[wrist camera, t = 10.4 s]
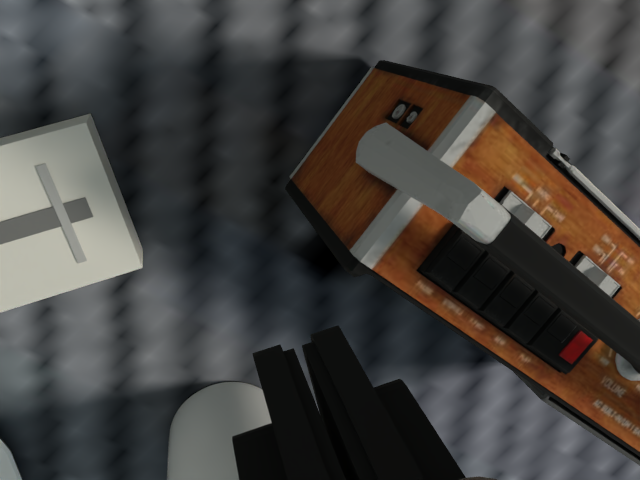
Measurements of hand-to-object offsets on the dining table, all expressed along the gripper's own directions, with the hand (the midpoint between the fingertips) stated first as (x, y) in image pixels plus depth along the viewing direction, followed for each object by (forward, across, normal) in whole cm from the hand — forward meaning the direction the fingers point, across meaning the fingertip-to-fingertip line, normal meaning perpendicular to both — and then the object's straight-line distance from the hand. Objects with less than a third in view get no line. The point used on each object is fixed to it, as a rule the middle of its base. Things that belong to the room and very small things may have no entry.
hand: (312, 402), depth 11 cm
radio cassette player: (+29, -16, +13) cm, 36 cm away
